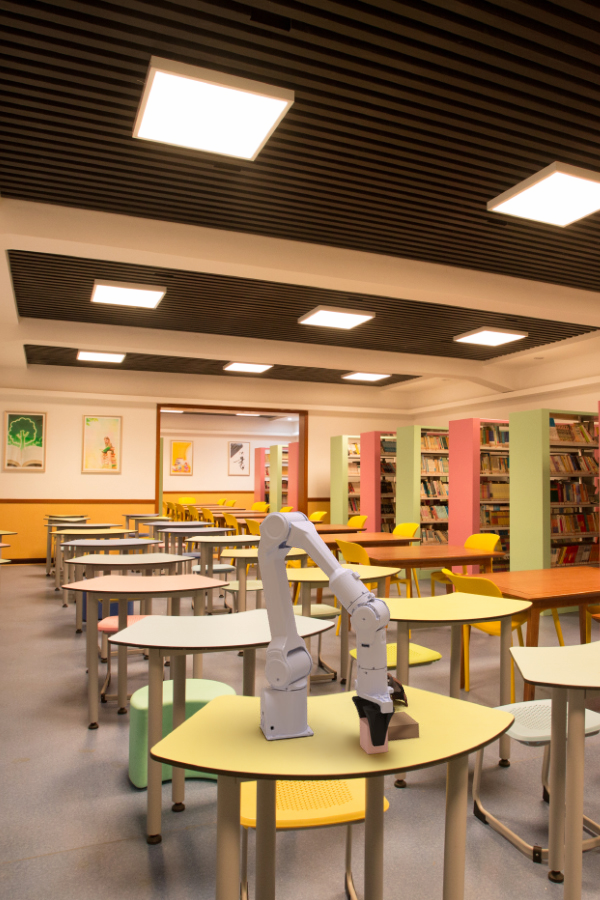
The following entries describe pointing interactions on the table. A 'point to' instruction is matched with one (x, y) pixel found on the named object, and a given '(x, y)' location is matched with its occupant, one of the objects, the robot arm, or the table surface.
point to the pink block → (366, 739)
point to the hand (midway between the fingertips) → (373, 740)
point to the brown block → (402, 727)
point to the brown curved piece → (396, 689)
